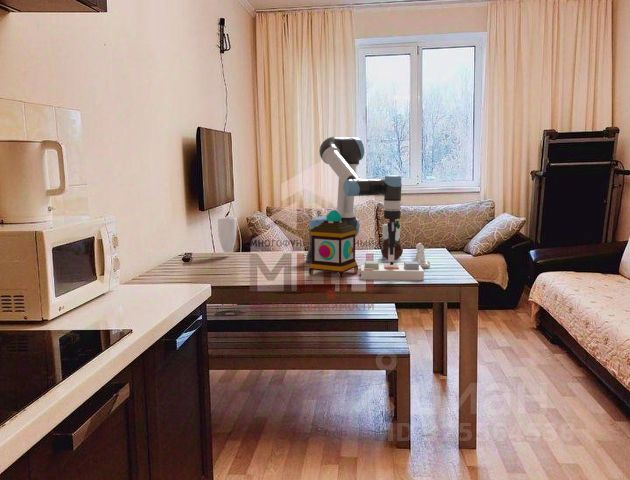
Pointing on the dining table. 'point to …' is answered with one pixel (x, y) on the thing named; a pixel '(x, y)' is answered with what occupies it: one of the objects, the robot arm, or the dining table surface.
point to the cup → (227, 232)
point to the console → (392, 273)
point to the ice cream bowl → (397, 251)
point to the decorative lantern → (333, 245)
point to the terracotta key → (391, 267)
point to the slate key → (411, 265)
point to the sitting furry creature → (421, 256)
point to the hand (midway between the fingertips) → (391, 261)
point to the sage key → (372, 264)
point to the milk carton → (397, 234)
